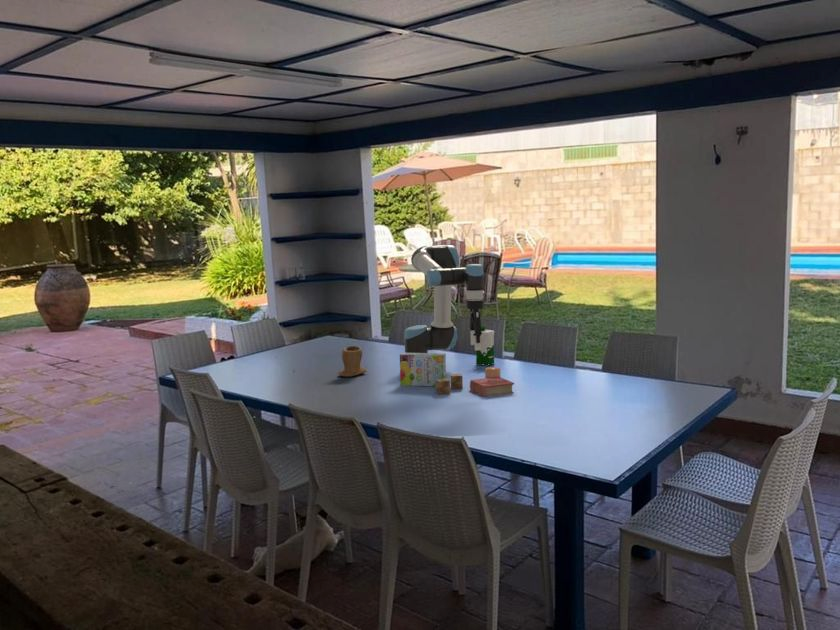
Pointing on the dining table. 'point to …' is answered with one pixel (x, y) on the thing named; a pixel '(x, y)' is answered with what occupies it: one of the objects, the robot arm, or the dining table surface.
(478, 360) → the milk carton
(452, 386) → the block
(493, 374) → the tan rounded glossy cylinder
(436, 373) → the snack box
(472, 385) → the book
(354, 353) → the orange vase
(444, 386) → the block
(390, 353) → the dining table surface
